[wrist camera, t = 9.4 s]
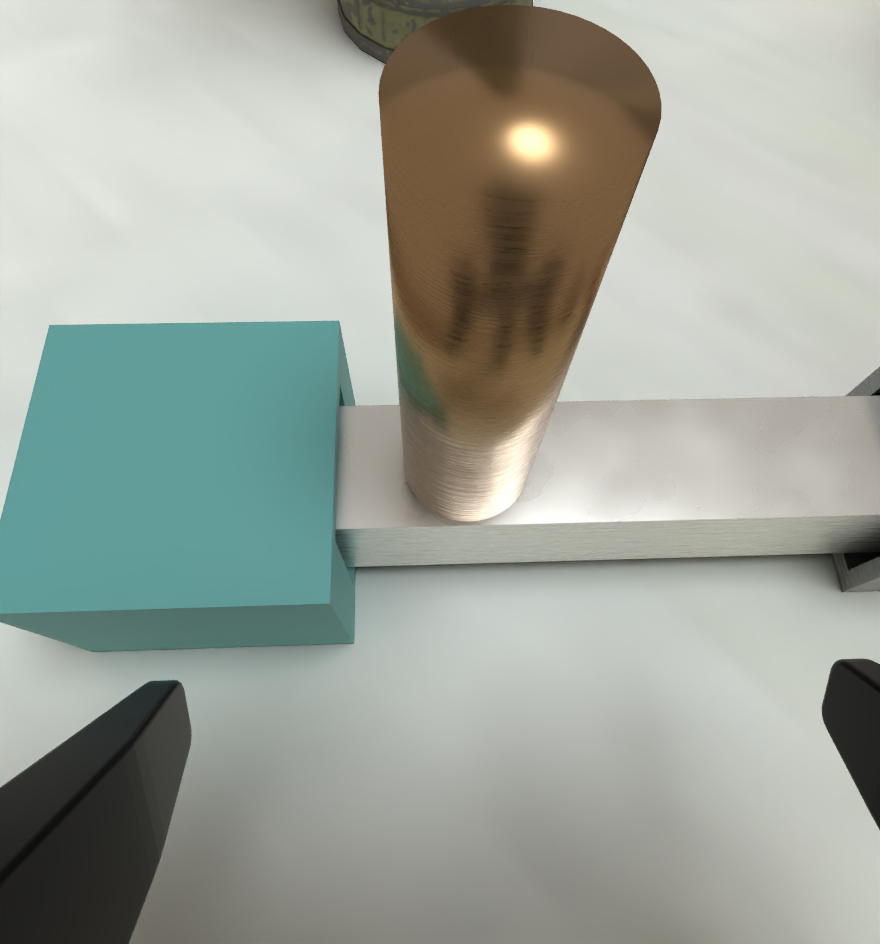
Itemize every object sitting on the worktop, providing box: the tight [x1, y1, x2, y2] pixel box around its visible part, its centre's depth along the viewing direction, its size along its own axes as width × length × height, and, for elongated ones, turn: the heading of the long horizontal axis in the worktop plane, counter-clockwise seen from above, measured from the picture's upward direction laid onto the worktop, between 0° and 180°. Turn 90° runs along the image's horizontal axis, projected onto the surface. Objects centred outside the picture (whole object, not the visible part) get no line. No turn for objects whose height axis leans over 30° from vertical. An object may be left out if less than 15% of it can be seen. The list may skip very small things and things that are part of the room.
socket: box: [0, 321, 355, 652], centre depth 17 cm, size 7×7×5 cm
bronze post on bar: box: [335, 5, 880, 567], centre depth 13 cm, size 22×3×13 cm, turn 92°
